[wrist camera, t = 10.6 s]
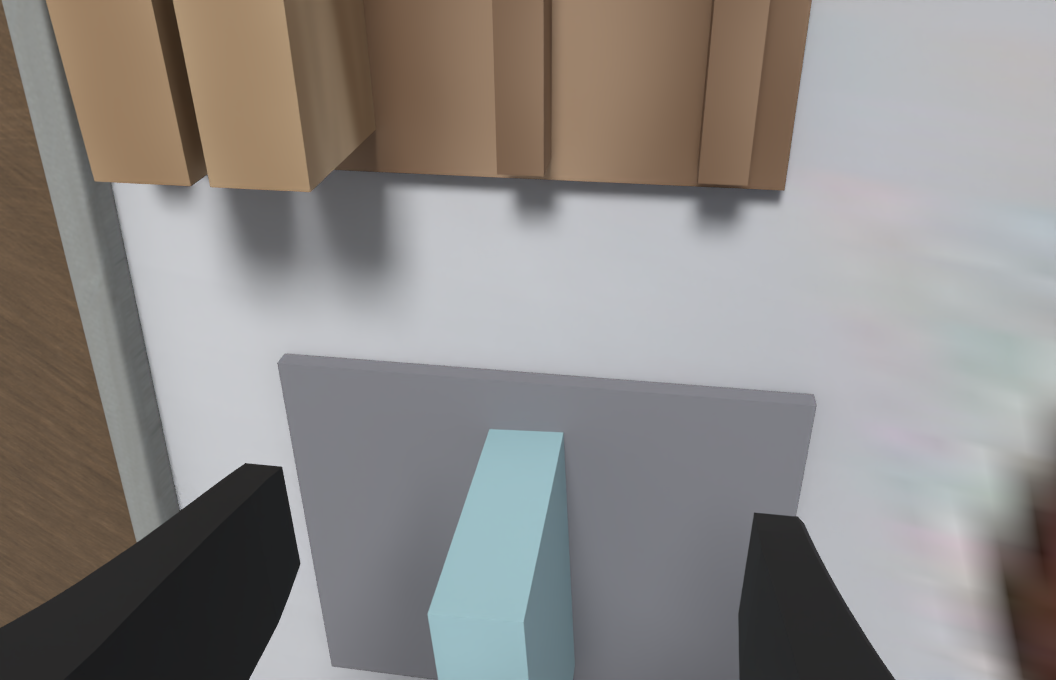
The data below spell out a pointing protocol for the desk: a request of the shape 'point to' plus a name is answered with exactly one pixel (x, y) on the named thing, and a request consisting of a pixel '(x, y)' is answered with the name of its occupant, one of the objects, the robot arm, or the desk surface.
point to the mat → (592, 503)
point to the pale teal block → (508, 568)
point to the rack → (585, 89)
